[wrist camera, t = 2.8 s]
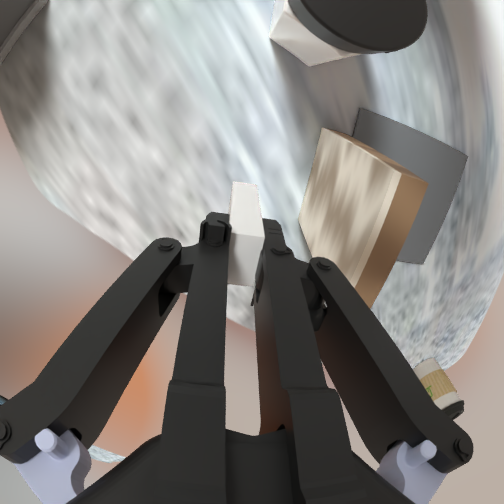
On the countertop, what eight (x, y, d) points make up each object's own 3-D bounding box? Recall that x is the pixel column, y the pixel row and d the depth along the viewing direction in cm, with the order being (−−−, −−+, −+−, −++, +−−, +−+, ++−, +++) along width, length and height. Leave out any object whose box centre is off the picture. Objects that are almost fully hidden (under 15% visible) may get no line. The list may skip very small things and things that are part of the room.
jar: (350, 77, 21) (423, 79, 11) (263, 59, 20) (282, 34, 10) (360, 0, 16) (430, -34, 6) (276, -21, 15) (300, -83, 5)
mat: (359, 107, 23) (361, 108, 22) (466, 155, 25) (467, 156, 24) (318, 247, 31) (318, 248, 31) (421, 263, 33) (422, 264, 33)
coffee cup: (397, 375, 50) (418, 433, 38) (433, 348, 46) (460, 406, 33) (415, 381, 53) (434, 432, 41) (447, 357, 49) (470, 408, 37)
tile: (322, 127, 24) (394, 171, 12) (345, 133, 24) (428, 183, 13) (297, 219, 29) (333, 316, 18) (319, 222, 30) (364, 318, 18)
